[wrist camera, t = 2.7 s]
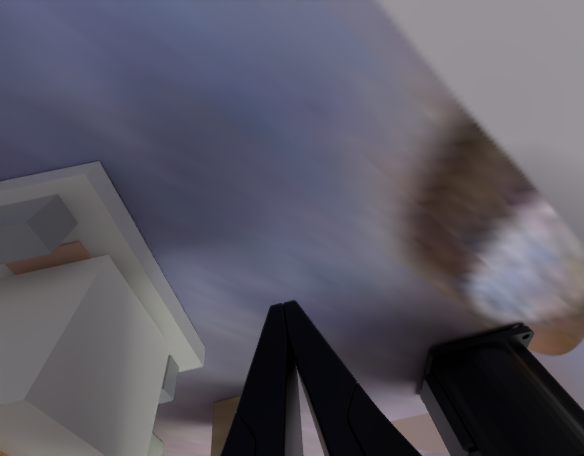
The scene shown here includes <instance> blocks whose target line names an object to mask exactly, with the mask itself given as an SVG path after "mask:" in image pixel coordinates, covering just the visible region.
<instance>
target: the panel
mask: <svg viewBox="0 0 584 456" xmlns="http://www.w3.org/2000/svg"><path fill="white" fill-rule="evenodd" d="M105 255H109V257H110V258H111V260H112V261H113V263H114V264H115V266H116V267H117V268H118V270H119V271H120V273H121V274H122V276H123V277H124V279H125V280H126V282H127V283H128V285H129V286H130V288H131V289H132V290H133V292H134V293H135V295H136V296H137V298H138V299H139V301H140V302H141V304H142V305H143V307H144V308H145V310H146V311H147V312H148V314H149V315H150V317H151V318H152V320H153V321H154V323H155V324H156V326H157V327H158V329H159V330H160V332H161V333H162V334H163V336H164V337H165V339H166V340H167V342H168V343H169V345H170V351H169V356H168V360H167V365H166V370H165V374H164V379H163V384H162V388H161V393H160V398H159V402H158V404H162V403H166V402H170V401H173V400H174V394H175V388H176V383H177V377H178V373H179V372H183V371H187V370H192V369H196V368H200V367H203V365H204V355H205V347H204V345H203V343H202V341H201V340H200V338H199V336H198V334H197V333H196V331H195V329H194V327H193V326H192V324H191V322H190V320H189V319H188V317H187V315H186V313H185V311H184V310H183V308H182V306H181V304H180V303H179V301H178V299H177V297H176V296H175V294H174V292H173V290H172V289H171V287H170V285H169V283H168V282H167V280H166V278H165V276H164V274H163V273H162V271H161V269H160V267H159V266H158V264H157V262H156V260H155V259H154V257H153V255H152V253H151V252H150V250H149V248H148V246H147V244H146V243H145V241H144V239H143V237H142V236H141V234H140V232H139V230H138V229H137V227H136V225H135V223H134V222H133V220H132V218H131V216H130V215H129V213H128V211H127V209H126V207H125V206H124V204H123V202H122V200H121V199H120V197H119V195H118V193H117V192H116V190H115V188H114V186H113V185H112V183H111V181H110V179H109V177H108V176H107V174H106V172H105V170H104V169H103V167H102V165H101V163H100V162H99V161H97V162H92V163H87V164H82V165H77V166H72V167H68V168H63V169H58V170H53V171H48V172H43V173H38V174H34V175H29V176H24V177H19V178H14V179H9V180H4V181H0V278H4V277H9V276H13V275H18V274H23V273H27V272H32V271H36V270H41V269H45V268H50V267H55V266H59V265H64V264H68V263H73V262H77V261H82V260H87V259H91V258H96V257H100V256H105Z"/></svg>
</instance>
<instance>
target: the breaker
mask: <svg viewBox="0 0 584 456" xmlns="http://www.w3.org/2000/svg"><path fill="white" fill-rule="evenodd" d="M169 351H170V345H169V343H168V342H167V340H166V339H165V337H164V336H163V334H162V333H161V332H160V330H159V329H158V327H157V326H156V324H155V323H154V321H153V320H152V318H151V317H150V315H149V314H148V312H147V311H146V310H145V308H144V307H143V305H142V304H141V302H140V301H139V299H138V298H137V296H136V295H135V293H134V292H133V290H132V289H131V288H130V286H129V285H128V283H127V282H126V280H125V279H124V277H123V276H122V274H121V273H120V271H119V270H118V268H117V267H116V266H115V264H114V263H113V261H112V260H111V258H110V257H109V255H105V256H100V257H96V258H91V259H87V260H82V261H77V262H73V263H68V264H64V265H59V266H55V267H50V268H45V269H41V270H36V271H32V272H27V273H23V274H18V275H13V276H9V277H4V278H0V456H147V454H148V449H149V444H150V440H151V435H152V430H153V426H154V421H155V416H156V412H157V407H158V402H159V398H160V393H161V388H162V384H163V379H164V374H165V370H166V365H167V360H168V356H169Z"/></svg>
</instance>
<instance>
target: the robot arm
mask: <svg viewBox="0 0 584 456" xmlns="http://www.w3.org/2000/svg"><path fill="white" fill-rule="evenodd" d="M533 335H534V332H533V331H532V330H531V329H530V328H529V327H528V326H523V327H518V328H514V329H510V330H506V331H502V332H498V333H494V334H490V335H485V336H481V337H477V338H473V339H469V340H465V341H461V342H457V343H452V344H448V345H444V346H440V347H437V348H434V349H432V350H431V351H430V353H429V356H428V361H427V366H426V371H425V376H424V381H423V386H422V391H421V396H420V397H421V399H422V401H423V403H424V404H425V406H426V408H427V410H428V412H429V414H430V416H431V418H432V420H433V422H434V424H435V426H436V428H437V430H438V432H439V434H440V435H441V438H442V440H443V441H444V444H445V446H446V448H447V449H448V451H449V453H450V455H451V456H584V410H583V409H582V408H581V407H580V406H579V404H578V403H577V402H576V401H575V400H574V399H573V398H572V397H571V396H570V395H569V394H568V393H567V392H566V390H565V389H564V388H563V387H562V386H561V385H560V384H559V383H558V382H557V381H556V379H555V378H554V377H553V376H552V375H551V374H550V373H549V372H548V371H547V370H546V369H545V368H544V366H543V365H542V364H541V363H540V362H539V361H538V360H537V359H536V358H535V357H534V356H533V355H532V353H531V352H530V351H529V350H528V349H527V347H528V345H529V343H530V341H531V339H532V337H533ZM296 366H297V368H296ZM297 370H298V374H299V377H300V380H301V383H302V387H303V390H304V393H305V396H306V399H307V402H308V405H309V408H310V412H311V415H312V418H313V421H314V424H315V427H316V430H317V433H318V437H319V440H320V443H321V446H322V449H323V452H324V455H325V456H422V455H421V454H420V453H419V452H418V451H417V450H416V449H415V448H414V447H413V446H412V445H411V444H410V442H408V441H407V439H406V438H405V437H404V436H403V435H402V434H401V433H400V432H399V431H398V430H397V429H396V428H395V427H394V426H393V424H391V422H390V421H389V420H388V419H387V418H386V417H385V415H384V414H383V413H382V412H381V411H380V410H379V409H378V407H377V406H376V405H375V404H374V402H373V401H372V400H371V399H370V397H369V396H368V395H367V394H366V392H365V391H364V390H363V388H362V387H361V386H360V384H359V383H357V381H356V379H355V378H354V377H353V375H352V374H351V373H350V371H349V370H348V369H347V367H346V366H345V365H344V363H343V362H342V361H341V360H340V358H339V357H338V356H337V354H336V353H335V352H334V350H333V349H332V348H331V346H330V345H329V344H328V342H327V341H326V340H325V338H324V337H323V336H322V334H321V333H320V332H319V330H318V329H317V328H316V326H315V325H314V324H313V323H312V321H311V320H310V319H309V317H308V316H307V315H306V313H305V312H304V311H303V309H302V308H301V307H300V305H299V304H298V303H297V301H295V300H292V301H288V302H284V304H282V303H279V304H275V305H271V306H270V308H269V311H268V314H267V317H266V320H265V323H264V326H263V329H262V332H261V335H260V338H259V342H258V345H257V348H256V351H255V354H254V357H253V360H252V363H251V366H250V369H249V372H248V375H247V378H246V381H245V384H244V387H243V390H242V393H241V396H240V400H239V403H238V406H237V409H236V412H237V413H235V414H234V417H233V420H232V424H231V427H230V430H229V432H228V435H227V438H226V441H225V443H224V446H223V449H222V452H221V454H220V456H303V443H302V430H301V416H300V403H299V389H298V377H297Z"/></svg>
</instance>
